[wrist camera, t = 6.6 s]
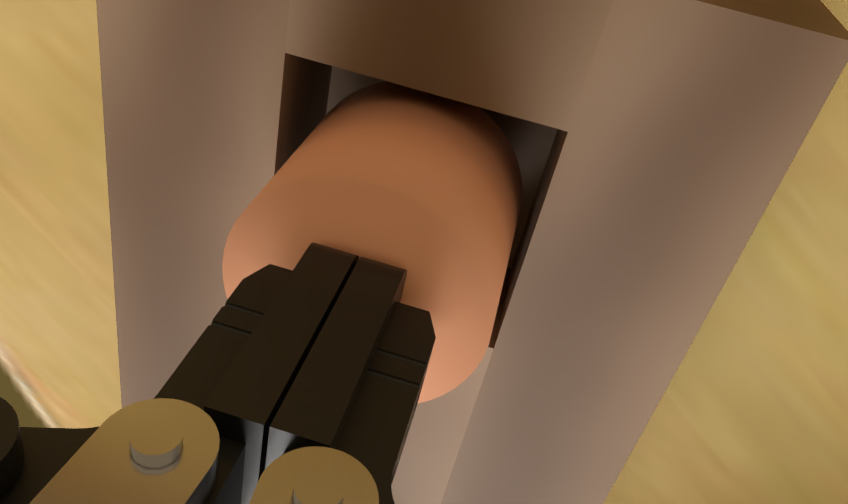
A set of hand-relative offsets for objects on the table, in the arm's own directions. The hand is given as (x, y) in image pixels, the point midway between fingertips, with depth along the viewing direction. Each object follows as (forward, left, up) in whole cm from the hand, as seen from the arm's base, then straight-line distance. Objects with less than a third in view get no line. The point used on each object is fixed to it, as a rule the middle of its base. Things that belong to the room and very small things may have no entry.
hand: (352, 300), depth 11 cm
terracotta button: (0, 0, -4) cm, 4 cm away
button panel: (0, +6, -7) cm, 9 cm away
